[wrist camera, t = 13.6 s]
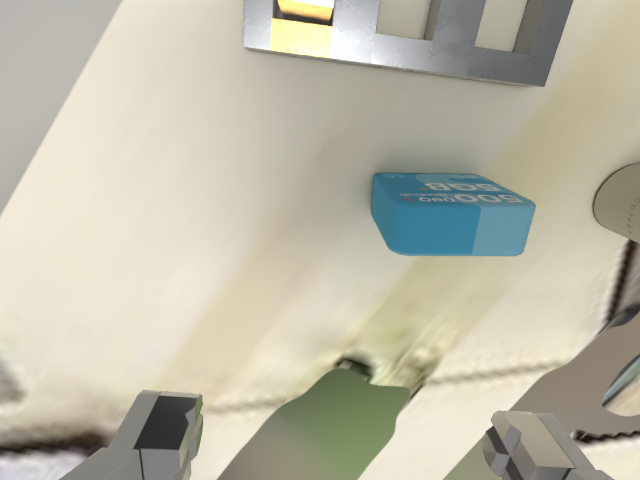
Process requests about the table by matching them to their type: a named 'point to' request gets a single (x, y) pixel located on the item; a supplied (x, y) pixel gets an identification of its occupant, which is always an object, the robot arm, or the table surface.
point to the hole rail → (416, 40)
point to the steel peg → (307, 11)
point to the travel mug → (621, 203)
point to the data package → (449, 215)
